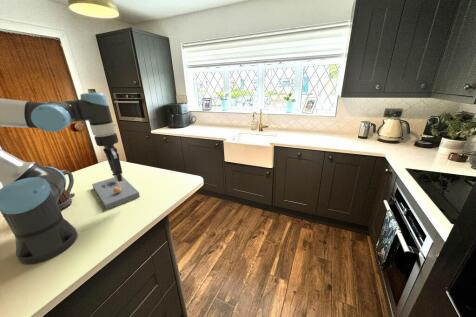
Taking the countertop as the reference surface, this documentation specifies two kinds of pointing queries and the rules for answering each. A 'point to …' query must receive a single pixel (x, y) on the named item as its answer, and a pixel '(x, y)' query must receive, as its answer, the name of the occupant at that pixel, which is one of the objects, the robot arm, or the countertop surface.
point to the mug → (66, 193)
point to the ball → (117, 190)
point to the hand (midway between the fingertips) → (121, 186)
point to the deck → (109, 196)
